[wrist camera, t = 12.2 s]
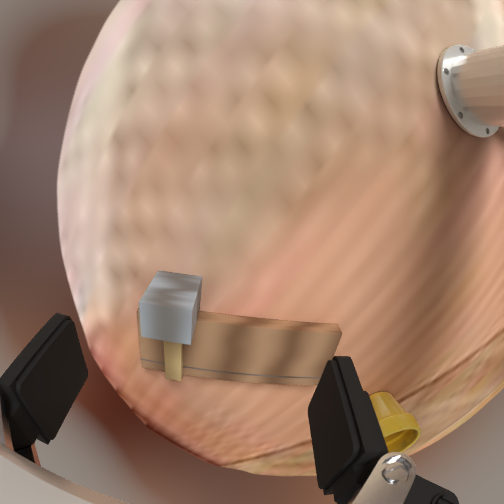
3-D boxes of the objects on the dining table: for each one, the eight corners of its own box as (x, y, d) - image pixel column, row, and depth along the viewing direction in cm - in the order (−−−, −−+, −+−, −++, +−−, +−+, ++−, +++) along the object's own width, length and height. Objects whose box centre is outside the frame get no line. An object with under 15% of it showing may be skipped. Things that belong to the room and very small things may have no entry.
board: (337, 324, 34) (342, 333, 32) (318, 375, 37) (321, 385, 35) (141, 302, 32) (136, 310, 30) (145, 357, 35) (141, 367, 33)
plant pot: (345, 427, 43) (358, 470, 34) (343, 395, 39) (360, 444, 30) (397, 410, 42) (415, 448, 33) (403, 375, 39) (427, 418, 29)
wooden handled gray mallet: (202, 276, 31) (192, 310, 25) (196, 363, 36) (189, 402, 29) (158, 270, 31) (138, 302, 24) (160, 357, 35) (148, 394, 29)
